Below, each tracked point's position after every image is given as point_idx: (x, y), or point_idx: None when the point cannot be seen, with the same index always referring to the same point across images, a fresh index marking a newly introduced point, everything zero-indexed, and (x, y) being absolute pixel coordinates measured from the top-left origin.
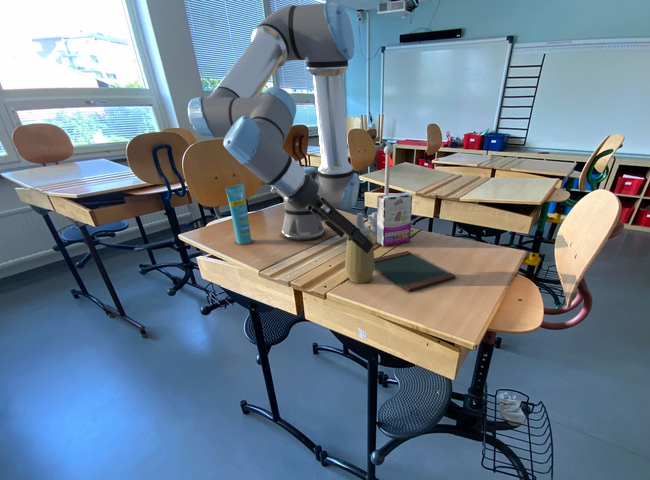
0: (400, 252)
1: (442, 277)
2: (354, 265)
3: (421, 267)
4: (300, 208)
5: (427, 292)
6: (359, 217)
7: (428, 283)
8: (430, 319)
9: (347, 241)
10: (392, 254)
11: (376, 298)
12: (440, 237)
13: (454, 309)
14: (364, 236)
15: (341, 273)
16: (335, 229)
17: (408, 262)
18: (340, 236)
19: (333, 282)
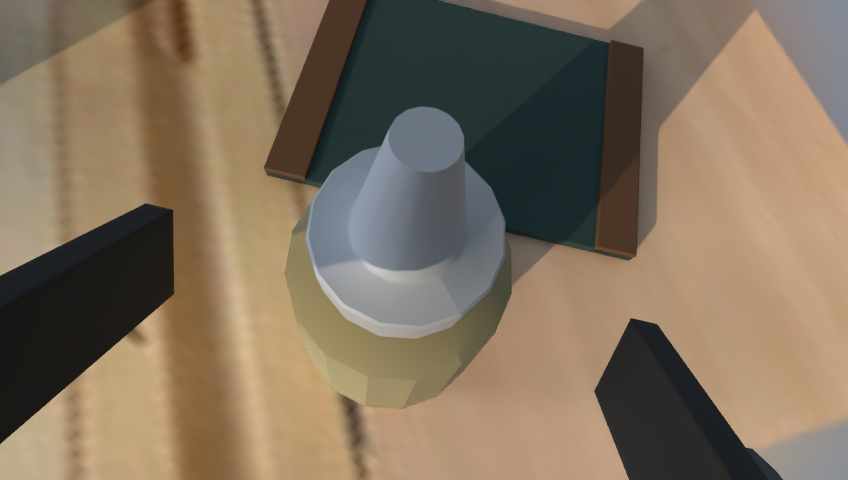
0: (329, 1)
1: (627, 87)
2: (435, 393)
3: (502, 63)
4: None
5: (667, 210)
6: (448, 192)
7: (638, 162)
8: (838, 371)
9: (338, 365)
10: (317, 37)
11: (594, 412)
12: None
13: (814, 246)
14: (728, 433)
15: (263, 353)
16: (94, 340)
17: (428, 57)
18: (163, 301)
19: (316, 468)
